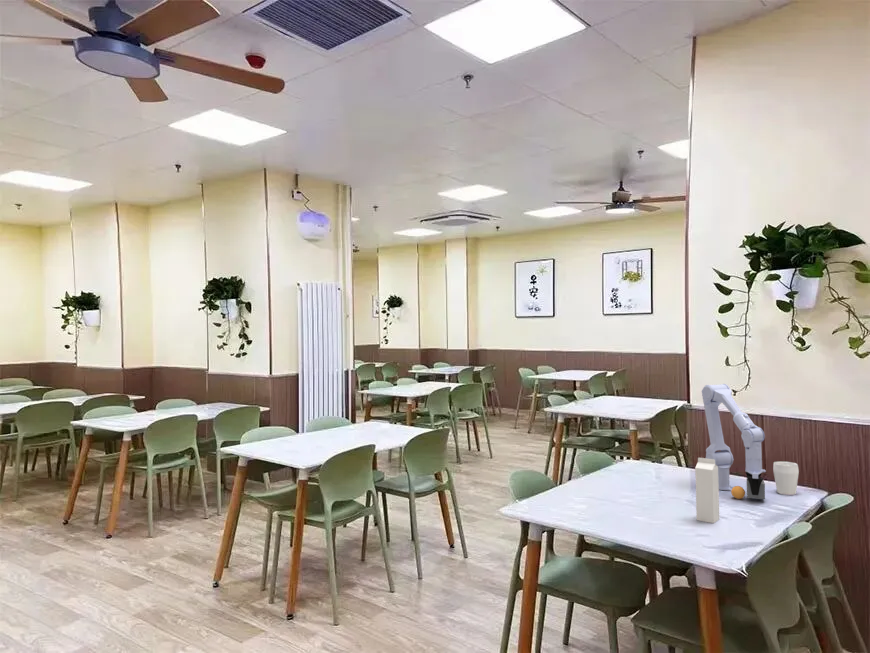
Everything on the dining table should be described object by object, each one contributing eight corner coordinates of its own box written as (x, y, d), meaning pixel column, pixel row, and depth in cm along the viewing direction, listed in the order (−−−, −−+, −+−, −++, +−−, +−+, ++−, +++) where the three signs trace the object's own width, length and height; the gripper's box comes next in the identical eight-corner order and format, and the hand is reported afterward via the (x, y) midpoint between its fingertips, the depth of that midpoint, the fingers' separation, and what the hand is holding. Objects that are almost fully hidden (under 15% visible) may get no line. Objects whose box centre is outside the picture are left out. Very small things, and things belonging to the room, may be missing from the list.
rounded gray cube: (747, 497, 237) (747, 482, 237) (746, 493, 243) (746, 478, 243) (765, 499, 235) (764, 483, 235) (763, 495, 240) (763, 480, 240)
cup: (792, 490, 252) (791, 461, 252) (803, 496, 243) (802, 466, 243) (769, 490, 253) (769, 461, 253) (780, 496, 244) (779, 466, 244)
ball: (748, 495, 238) (738, 502, 239) (747, 492, 242) (737, 499, 244) (738, 485, 239) (728, 492, 240) (738, 482, 244) (728, 489, 245)
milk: (702, 516, 221) (700, 455, 221) (719, 519, 217) (718, 458, 217) (696, 520, 217) (694, 458, 217) (714, 523, 212) (712, 460, 213)
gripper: (766, 462, 231) (767, 498, 231) (763, 455, 244) (764, 488, 244) (746, 461, 234) (747, 496, 234) (743, 454, 247) (744, 487, 247)
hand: (754, 492), depth 239 cm, fingers closed on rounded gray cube, 6 cm apart
